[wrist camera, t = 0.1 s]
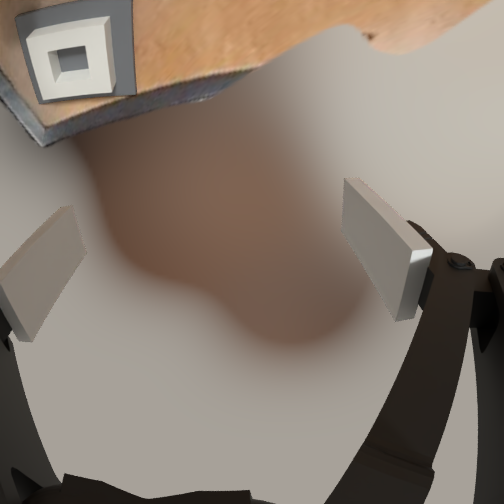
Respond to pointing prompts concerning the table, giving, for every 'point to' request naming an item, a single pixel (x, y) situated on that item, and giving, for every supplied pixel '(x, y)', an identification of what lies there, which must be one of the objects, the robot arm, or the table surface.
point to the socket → (79, 49)
